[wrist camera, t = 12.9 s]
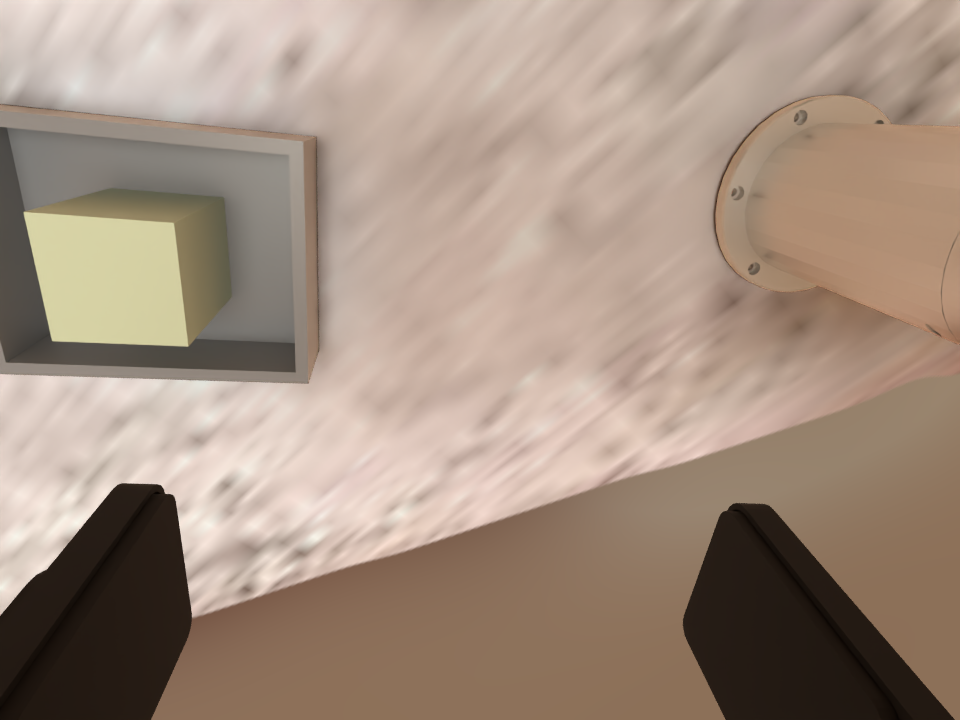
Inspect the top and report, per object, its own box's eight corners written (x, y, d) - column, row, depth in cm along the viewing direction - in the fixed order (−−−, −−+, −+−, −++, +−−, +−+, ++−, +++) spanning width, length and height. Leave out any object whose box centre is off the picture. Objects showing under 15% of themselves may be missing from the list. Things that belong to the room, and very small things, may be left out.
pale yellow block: (224, 197, 32) (174, 223, 25) (232, 296, 34) (188, 346, 27) (110, 188, 31) (23, 211, 24) (126, 291, 33) (52, 341, 26)
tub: (316, 137, 32) (303, 141, 27) (319, 350, 37) (308, 383, 33) (-6, 103, 29) (-80, 102, 25) (46, 339, 34) (-6, 373, 30)
